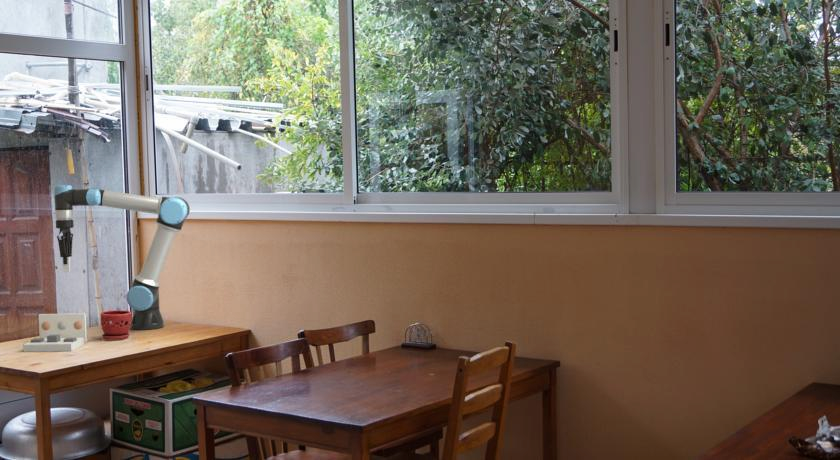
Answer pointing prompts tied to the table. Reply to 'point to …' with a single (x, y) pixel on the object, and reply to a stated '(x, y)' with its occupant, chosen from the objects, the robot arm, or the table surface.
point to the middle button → (53, 338)
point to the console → (52, 345)
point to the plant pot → (116, 324)
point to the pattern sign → (63, 325)
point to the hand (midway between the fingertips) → (66, 271)
